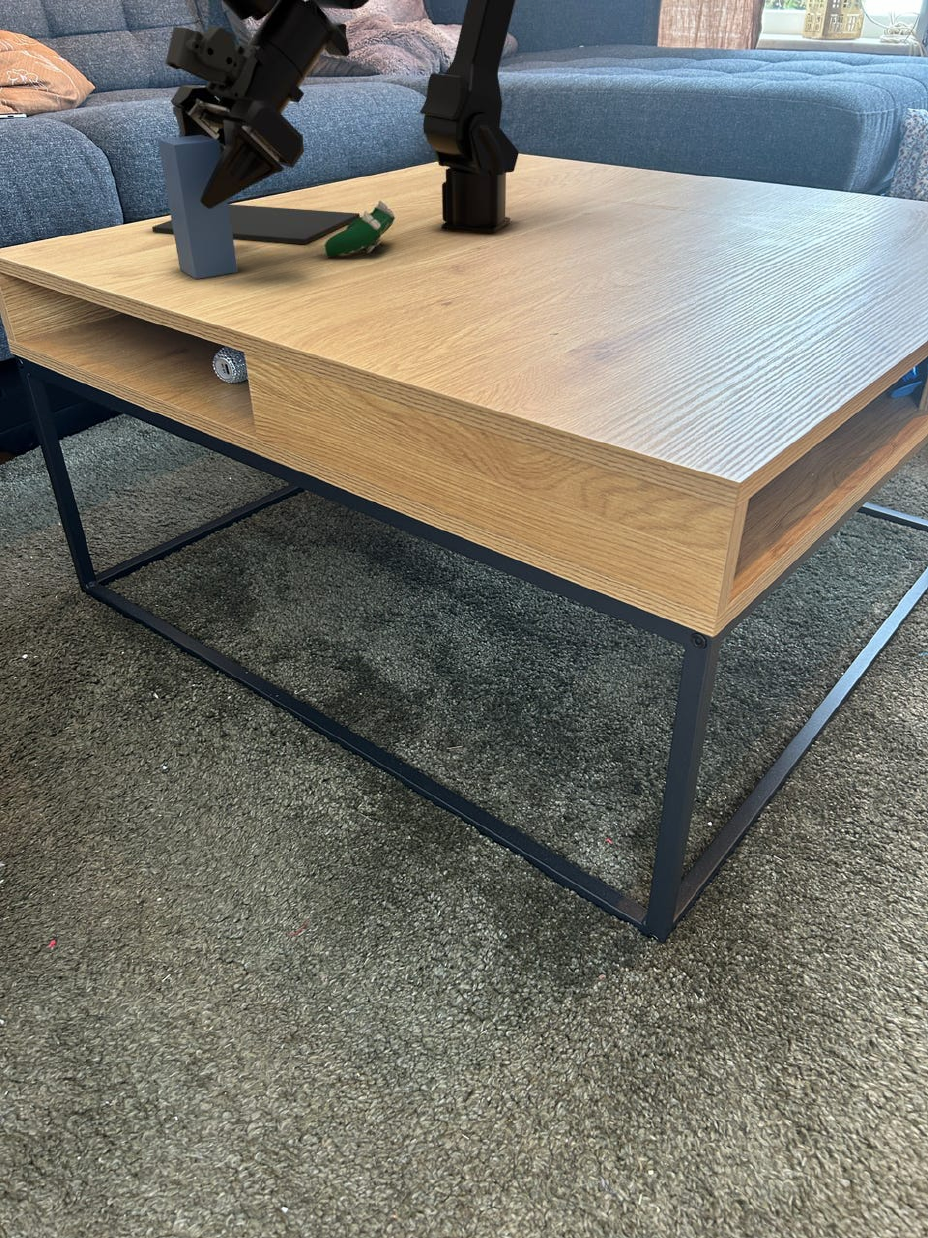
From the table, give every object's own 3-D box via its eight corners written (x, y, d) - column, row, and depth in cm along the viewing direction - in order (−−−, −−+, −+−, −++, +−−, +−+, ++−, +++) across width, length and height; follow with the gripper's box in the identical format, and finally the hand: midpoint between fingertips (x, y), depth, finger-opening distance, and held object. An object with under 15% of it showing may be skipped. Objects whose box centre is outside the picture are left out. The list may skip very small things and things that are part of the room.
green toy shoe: (345, 277, 101) (382, 236, 98) (318, 249, 100) (355, 207, 97) (369, 255, 109) (404, 217, 105) (345, 229, 107) (379, 190, 104)
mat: (360, 218, 117) (359, 213, 116) (305, 244, 106) (304, 238, 105) (218, 208, 122) (217, 203, 122) (152, 232, 112) (151, 226, 111)
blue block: (220, 263, 99) (201, 134, 93) (237, 272, 96) (219, 139, 90) (179, 269, 97) (157, 138, 91) (196, 279, 94) (174, 144, 88)
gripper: (174, -12, 92) (84, 126, 93) (255, -10, 79) (150, 149, 80) (260, 77, 100) (176, 203, 101) (346, 92, 87) (250, 236, 88)
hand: (186, 197), depth 92 cm, fingers open, 9 cm apart
